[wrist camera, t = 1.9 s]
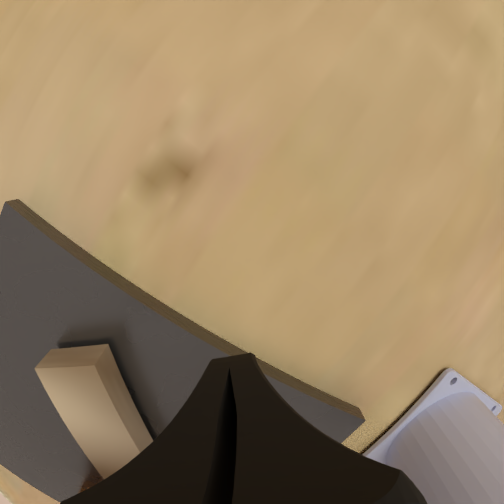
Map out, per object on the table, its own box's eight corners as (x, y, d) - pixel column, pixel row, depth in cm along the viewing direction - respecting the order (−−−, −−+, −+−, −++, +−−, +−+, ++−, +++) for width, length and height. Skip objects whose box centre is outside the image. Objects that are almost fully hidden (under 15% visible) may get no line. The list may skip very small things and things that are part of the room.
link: (210, 524, 15) (210, 543, 13) (160, 525, 15) (157, 542, 13) (114, 342, 11) (101, 364, 10) (46, 349, 11) (29, 368, 10)
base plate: (359, 408, 15) (398, 485, 9) (181, 541, 18) (178, 591, 12) (18, 199, 11) (-72, 219, 6) (-26, 431, 14) (-57, 473, 9)
